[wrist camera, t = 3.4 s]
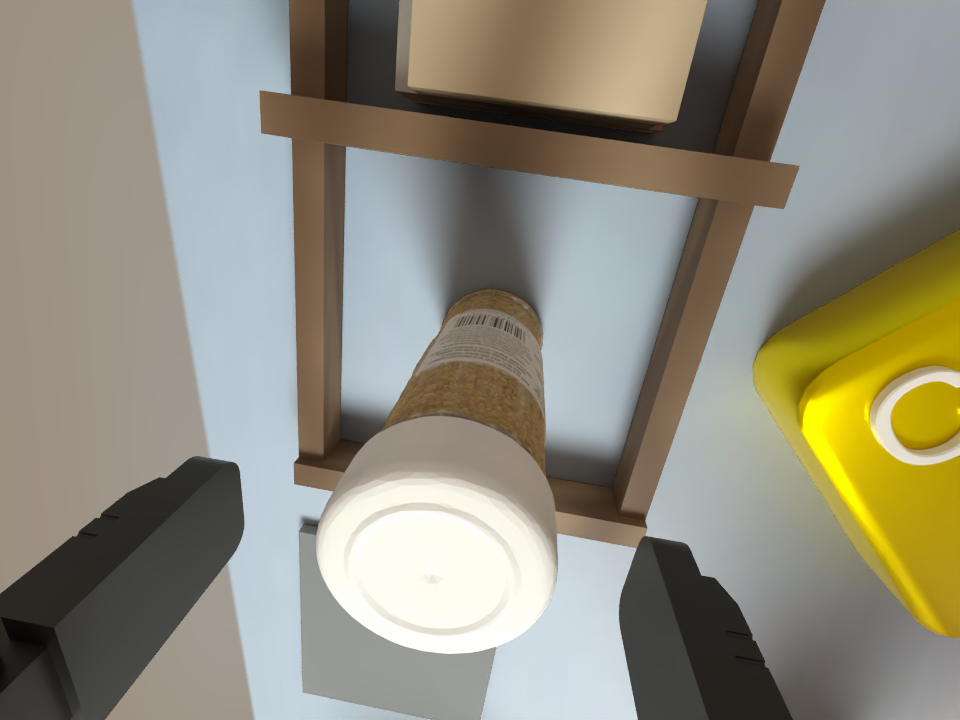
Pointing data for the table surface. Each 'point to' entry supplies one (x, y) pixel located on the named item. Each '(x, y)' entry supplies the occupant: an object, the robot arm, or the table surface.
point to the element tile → (883, 422)
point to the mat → (380, 658)
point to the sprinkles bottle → (452, 493)
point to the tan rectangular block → (551, 58)
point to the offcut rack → (711, 177)
